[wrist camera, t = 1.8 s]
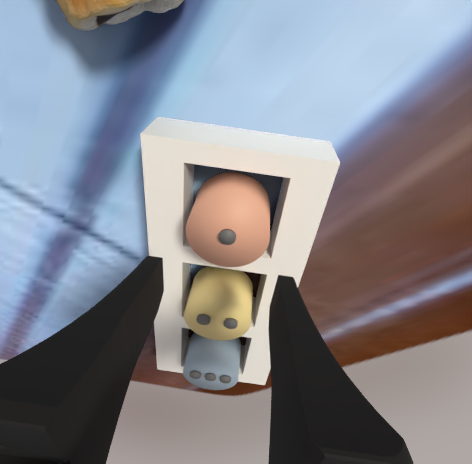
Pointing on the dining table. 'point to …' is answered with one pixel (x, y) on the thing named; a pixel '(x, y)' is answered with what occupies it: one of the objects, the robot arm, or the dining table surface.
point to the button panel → (181, 203)
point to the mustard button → (219, 303)
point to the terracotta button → (230, 220)
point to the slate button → (212, 362)
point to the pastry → (109, 11)
